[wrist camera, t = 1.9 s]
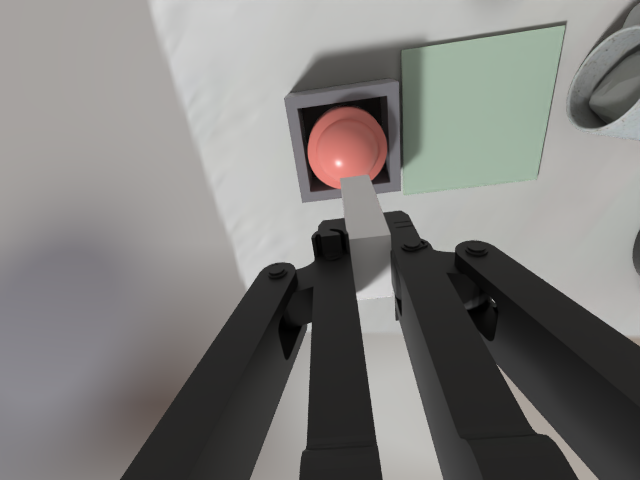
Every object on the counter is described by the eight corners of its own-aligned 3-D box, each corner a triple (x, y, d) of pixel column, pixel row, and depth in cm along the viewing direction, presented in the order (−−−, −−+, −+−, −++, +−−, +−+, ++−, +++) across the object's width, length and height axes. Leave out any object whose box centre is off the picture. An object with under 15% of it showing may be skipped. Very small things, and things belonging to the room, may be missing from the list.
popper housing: (389, 78, 29) (398, 81, 26) (393, 176, 33) (400, 190, 30) (289, 93, 30) (284, 98, 26) (304, 187, 34) (302, 202, 31)
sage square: (562, 25, 27) (565, 25, 27) (534, 178, 33) (536, 179, 33) (401, 50, 28) (402, 50, 28) (403, 193, 34) (404, 195, 34)
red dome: (379, 99, 28) (390, 108, 23) (383, 173, 31) (392, 193, 26) (304, 110, 28) (299, 120, 24) (314, 181, 31) (312, 203, 27)
